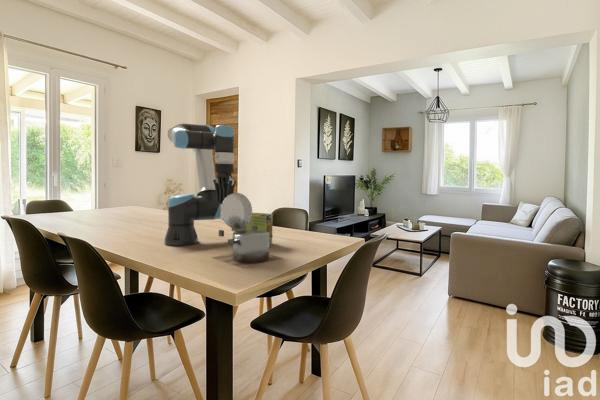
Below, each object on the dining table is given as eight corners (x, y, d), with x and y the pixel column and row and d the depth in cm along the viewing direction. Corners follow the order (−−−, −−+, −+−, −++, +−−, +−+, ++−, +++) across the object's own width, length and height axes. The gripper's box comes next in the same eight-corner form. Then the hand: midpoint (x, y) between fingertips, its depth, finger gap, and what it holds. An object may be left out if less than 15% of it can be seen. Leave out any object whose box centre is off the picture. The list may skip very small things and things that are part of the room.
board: (211, 260, 129) (211, 257, 129) (251, 252, 144) (251, 249, 144) (243, 271, 116) (243, 268, 116) (283, 261, 131) (283, 258, 130)
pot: (216, 258, 127) (216, 230, 126) (255, 250, 142) (256, 225, 141) (242, 267, 117) (242, 236, 116) (281, 257, 131) (281, 230, 130)
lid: (224, 232, 127) (219, 232, 130) (254, 228, 138) (248, 228, 140) (221, 193, 128) (215, 194, 130) (250, 192, 138) (245, 193, 141)
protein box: (266, 250, 147) (266, 216, 146) (233, 248, 150) (233, 214, 149) (272, 245, 158) (273, 213, 156) (242, 243, 161) (242, 211, 159)
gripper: (207, 163, 139) (207, 218, 141) (225, 162, 130) (225, 222, 132) (222, 163, 145) (222, 217, 147) (241, 163, 136) (240, 220, 138)
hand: (224, 219), depth 140 cm, fingers closed
